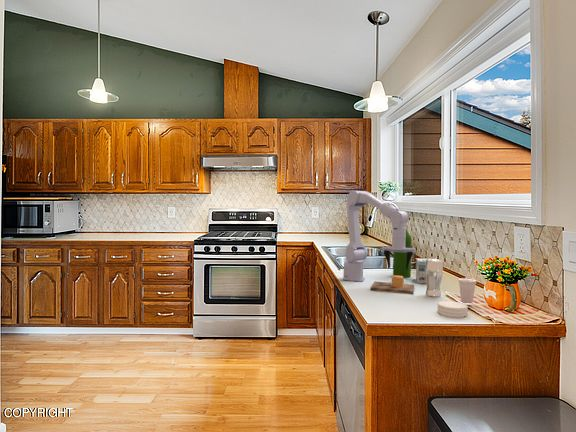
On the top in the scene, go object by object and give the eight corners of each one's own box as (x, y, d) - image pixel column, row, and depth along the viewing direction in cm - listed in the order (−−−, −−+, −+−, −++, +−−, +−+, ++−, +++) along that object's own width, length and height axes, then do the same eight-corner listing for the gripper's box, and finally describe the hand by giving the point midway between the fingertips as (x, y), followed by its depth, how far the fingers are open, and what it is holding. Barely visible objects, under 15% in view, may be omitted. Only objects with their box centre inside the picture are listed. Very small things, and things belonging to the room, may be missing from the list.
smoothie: (454, 302, 157) (455, 267, 156) (470, 302, 157) (471, 267, 157) (463, 306, 151) (464, 270, 150) (479, 306, 151) (480, 270, 150)
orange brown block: (391, 287, 177) (391, 276, 177) (392, 284, 182) (392, 275, 182) (402, 287, 176) (402, 277, 176) (403, 285, 180) (403, 275, 180)
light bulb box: (432, 284, 191) (433, 261, 191) (417, 283, 192) (418, 261, 192) (429, 279, 202) (429, 258, 201) (415, 278, 203) (416, 257, 202)
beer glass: (441, 294, 170) (442, 259, 170) (442, 298, 164) (443, 261, 163) (424, 292, 173) (425, 258, 172) (424, 296, 166) (425, 260, 165)
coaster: (473, 315, 140) (473, 305, 140) (456, 319, 135) (456, 309, 135) (448, 308, 149) (448, 299, 149) (431, 312, 143) (431, 302, 143)
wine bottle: (396, 273, 215) (398, 213, 214) (413, 276, 210) (414, 214, 209) (390, 276, 208) (392, 214, 207) (407, 278, 203) (409, 214, 201)
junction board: (370, 290, 176) (370, 280, 176) (374, 283, 189) (374, 275, 189) (413, 293, 170) (413, 284, 170) (414, 287, 183) (414, 278, 183)
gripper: (381, 237, 176) (380, 268, 177) (415, 239, 172) (414, 270, 172) (382, 236, 183) (382, 266, 184) (416, 238, 178) (415, 268, 179)
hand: (397, 268), depth 178 cm, fingers open, 7 cm apart
